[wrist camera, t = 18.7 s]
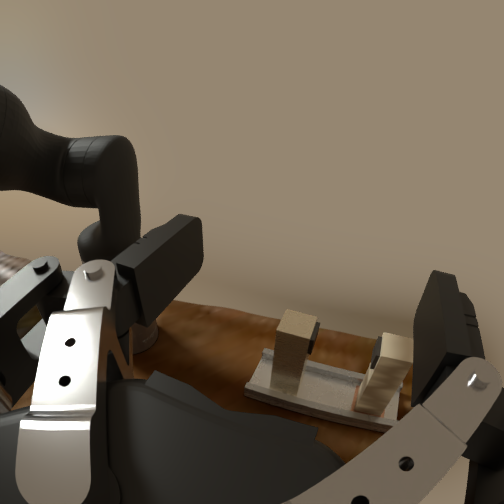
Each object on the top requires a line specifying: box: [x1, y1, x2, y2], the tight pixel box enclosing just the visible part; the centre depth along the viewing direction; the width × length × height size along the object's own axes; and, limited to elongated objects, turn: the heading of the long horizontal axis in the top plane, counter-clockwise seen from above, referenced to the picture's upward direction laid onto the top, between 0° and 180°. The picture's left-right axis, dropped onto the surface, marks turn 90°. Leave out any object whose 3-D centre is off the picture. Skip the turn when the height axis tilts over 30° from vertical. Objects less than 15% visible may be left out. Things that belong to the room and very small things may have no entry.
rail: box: [244, 309, 403, 433], centre depth 39 cm, size 22×8×13 cm, turn 68°
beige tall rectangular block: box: [354, 332, 413, 416], centre depth 37 cm, size 4×4×12 cm
